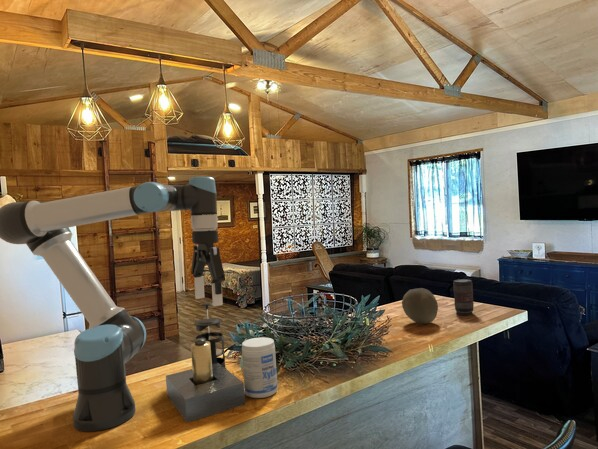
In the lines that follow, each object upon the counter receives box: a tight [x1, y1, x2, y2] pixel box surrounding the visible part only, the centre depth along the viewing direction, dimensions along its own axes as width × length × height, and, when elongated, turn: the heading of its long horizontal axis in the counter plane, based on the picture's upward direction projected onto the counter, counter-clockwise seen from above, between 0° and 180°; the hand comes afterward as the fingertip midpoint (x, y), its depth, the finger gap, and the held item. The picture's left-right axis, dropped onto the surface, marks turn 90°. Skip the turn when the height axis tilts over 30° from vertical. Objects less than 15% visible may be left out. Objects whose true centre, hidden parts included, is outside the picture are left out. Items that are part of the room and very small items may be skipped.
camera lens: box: [452, 278, 475, 317], centre depth 193 cm, size 8×8×15 cm
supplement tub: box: [241, 336, 278, 399], centre depth 124 cm, size 10×10×15 cm
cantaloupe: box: [401, 287, 439, 325], centre depth 182 cm, size 14×14×15 cm
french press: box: [194, 302, 227, 369], centre depth 143 cm, size 12×9×23 cm
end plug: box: [190, 338, 213, 386], centre depth 122 cm, size 5×5×17 cm
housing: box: [165, 363, 246, 423], centre depth 122 cm, size 16×20×6 cm
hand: (208, 301), depth 128 cm, fingers open, 13 cm apart
